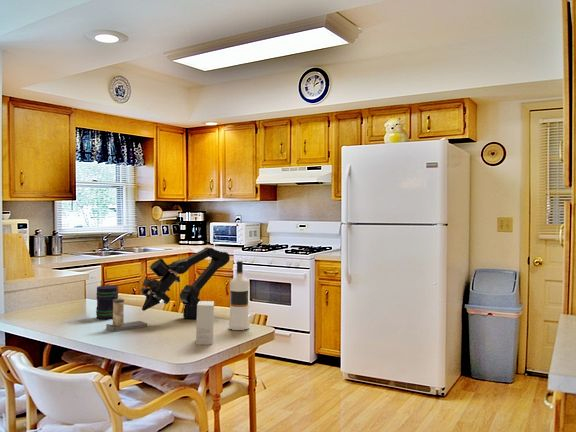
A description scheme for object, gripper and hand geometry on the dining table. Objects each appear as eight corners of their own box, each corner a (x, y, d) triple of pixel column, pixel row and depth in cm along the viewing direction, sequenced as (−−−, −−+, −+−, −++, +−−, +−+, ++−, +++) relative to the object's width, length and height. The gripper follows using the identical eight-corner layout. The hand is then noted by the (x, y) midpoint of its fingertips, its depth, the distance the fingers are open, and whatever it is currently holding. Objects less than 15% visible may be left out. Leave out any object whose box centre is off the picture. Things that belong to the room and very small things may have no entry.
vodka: (225, 327, 219) (226, 260, 219) (245, 325, 223) (245, 259, 223) (232, 332, 211) (233, 262, 211) (252, 330, 215) (253, 261, 215)
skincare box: (197, 339, 198) (198, 300, 198) (214, 339, 198) (214, 300, 198) (195, 345, 189) (196, 304, 189) (212, 344, 190) (213, 304, 190)
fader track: (139, 323, 224) (139, 319, 224) (146, 326, 219) (147, 322, 219) (106, 328, 213) (106, 324, 213) (112, 331, 208) (113, 327, 208)
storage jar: (122, 317, 238) (122, 286, 238) (107, 320, 229) (107, 289, 229) (107, 315, 242) (107, 284, 242) (91, 318, 234) (91, 287, 234)
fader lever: (119, 323, 216) (119, 298, 216) (123, 325, 213) (124, 299, 213) (112, 324, 214) (112, 299, 214) (116, 326, 211) (116, 300, 211)
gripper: (144, 270, 231) (121, 296, 224) (163, 274, 218) (140, 301, 210) (159, 285, 237) (137, 311, 229) (179, 290, 223) (157, 317, 216)
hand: (142, 310), depth 221 cm, fingers closed
